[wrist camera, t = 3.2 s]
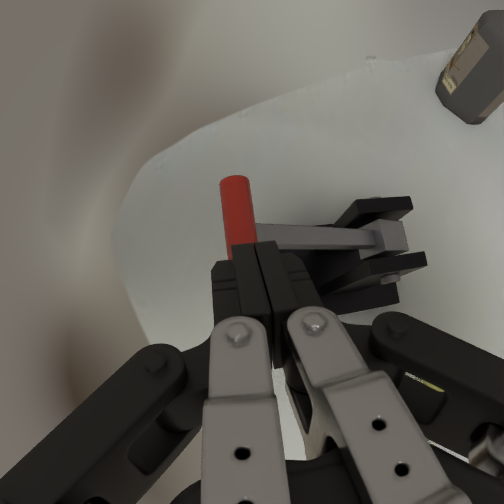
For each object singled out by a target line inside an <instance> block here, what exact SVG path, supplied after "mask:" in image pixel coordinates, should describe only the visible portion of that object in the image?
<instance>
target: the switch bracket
mask: <svg viewBox="0 0 504 504" xmlns="http://www.w3.org/2000/svg"><path fill="white" fill-rule="evenodd" d="M411 210H413V205H412V201H411V198H410V196H404V197H387V198H381V197H372V198H369V199H357V200H355V201H354V202H353V203H352V204H351V206H350V207H349V208H348V209H347V210H346V211H345V212H344V213H343V214H342V216H341V217H340V218H339V219H338V220H337V221H336V222H335V223H334V224H327V225H317V227H334V228H350V229H358V228H360V227H362V226H364V225H366V224H368V223H371V222H373V221H375V220H377V219H386V220H395V221H398V220H399V219H400V218H402V217H403V216H405V215H406V214H407V213H409V212H410V211H411ZM279 251H280V253H281V254H284V253H293V254H294V255H296V256H297V257H298V258H300V259H301V260H302V261H303V263H304V265H305V268H306V270H307V272H308V274H309V276H310V280H312V282H313V284H314V286H315V289H316V291H317V293H318V295H319V297H320V299H321V301H322V303H323V306H324V308H326V309H328V310H330V311H332V312H333V313H335V314H336V315H341V314H347V313H352V312H358V311H363V310H368V309H373V308H378V307H383V306H387V305H392V304H397V303H399V297H398V291H397V286H396V282H397V281H399V280H400V276H402V275H405V274H407V273H410V272H413V271H415V270H418V269H420V268H423V267H425V266H427V260H426V256H425V252H424V251H423V252H417V253H410V254H403V255H397V256H390V257H383V258H376V259H369V260H361V259H360V254H359V249H279Z"/></svg>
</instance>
